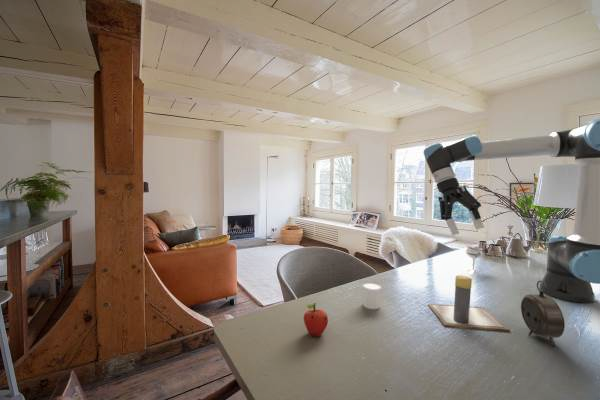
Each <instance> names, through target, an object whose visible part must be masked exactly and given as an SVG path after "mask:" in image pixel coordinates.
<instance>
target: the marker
mask: <svg viewBox="0 0 600 400" xmlns="http://www.w3.org/2000/svg"><path fill="white" fill-rule="evenodd" d="M472 281H473V279H472V278H471V277H469V276H465V275H455V280H454V283H455V284H454V285H455V289H454V302H453V304H454V318H453V319H454V320H455V321H456V322H458V323H461V324H468V323H469V309H470V307H471V306H470V305H471V304H470V303H471V294H472V293H471V291H472Z"/></svg>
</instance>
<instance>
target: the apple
mask: <svg viewBox="0 0 600 400" xmlns="http://www.w3.org/2000/svg"><path fill="white" fill-rule="evenodd" d="M316 305H317V303H316V302H313V303H312V304H308V305H307V306H306V307H307V308H308V309H310V310H307V311H305V312H304V314H303V322H304V326H305V328H306V331H307V332H308V334H309V335H310V336H312V337H320V336H321V335H322V334H323V333H324V331H325V330H326V328H327V327H328V322H329V317H328V314H327V313H326V310H323V309H316Z"/></svg>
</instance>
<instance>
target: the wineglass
mask: <svg viewBox="0 0 600 400" xmlns="http://www.w3.org/2000/svg"><path fill="white" fill-rule="evenodd" d="M465 253H466V255H467V256H468V257H469V258H471V260H472V269H467V272H468V273H470V274H480V272H478V270H475V261H476V259H479V258H481V257H482V256H483V248H482V247H478V246H473V245H471V246H470V245H469V246H466V249H465Z"/></svg>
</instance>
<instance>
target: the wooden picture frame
mask: <svg viewBox="0 0 600 400" xmlns="http://www.w3.org/2000/svg"><path fill="white" fill-rule="evenodd" d="M427 305H428V307H429V308H430V310H431V311H432V313H433V314H434V315H435V316H436V318H437V319H438V320H439V321H440V323H441V324H442V326H443V327H446V328H456V329H457V328H461V329H472V330H473V329H474V330H484V331H486V330H487V331H495V332H497V331H498V332H511V329H510V328H509V327H508V326H507V325H505V324H504V323H503V322H502V321H500V320H499V319H498V318H497V317H496V316H494V315H493V314H492V313H491V312H490V311H488V310H487V308H485V307H482V306H481V307H480V306H470V309H469V323H468V324H461V323H458V322H456V321H455V320H454V319H453V318H454V305H452V304H436V303H428V304H427Z"/></svg>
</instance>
